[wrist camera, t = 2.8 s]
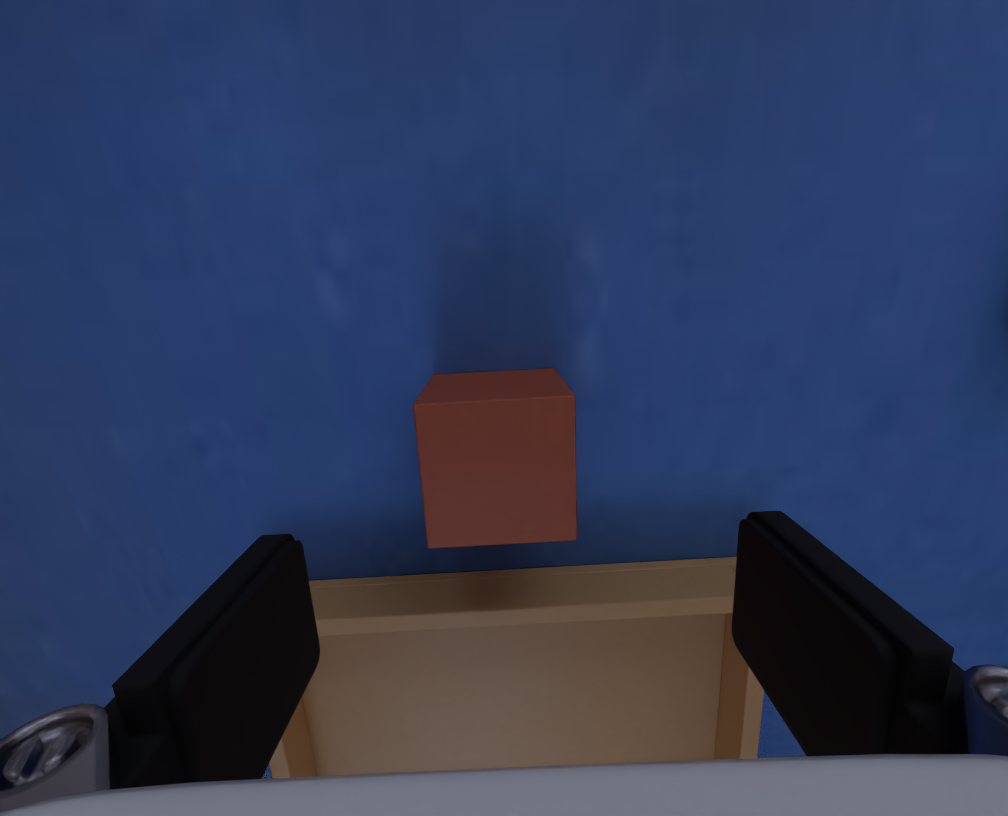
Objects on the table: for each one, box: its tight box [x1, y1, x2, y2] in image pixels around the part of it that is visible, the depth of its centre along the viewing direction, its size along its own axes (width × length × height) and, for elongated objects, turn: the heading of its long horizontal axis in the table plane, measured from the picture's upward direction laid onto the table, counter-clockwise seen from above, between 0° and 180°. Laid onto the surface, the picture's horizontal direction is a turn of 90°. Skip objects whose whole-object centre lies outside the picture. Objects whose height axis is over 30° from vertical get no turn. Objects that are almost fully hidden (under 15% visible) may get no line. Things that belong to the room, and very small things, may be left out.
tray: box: [269, 557, 764, 778], centre depth 22 cm, size 22×15×3 cm
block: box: [413, 368, 577, 548], centre depth 18 cm, size 5×5×5 cm
